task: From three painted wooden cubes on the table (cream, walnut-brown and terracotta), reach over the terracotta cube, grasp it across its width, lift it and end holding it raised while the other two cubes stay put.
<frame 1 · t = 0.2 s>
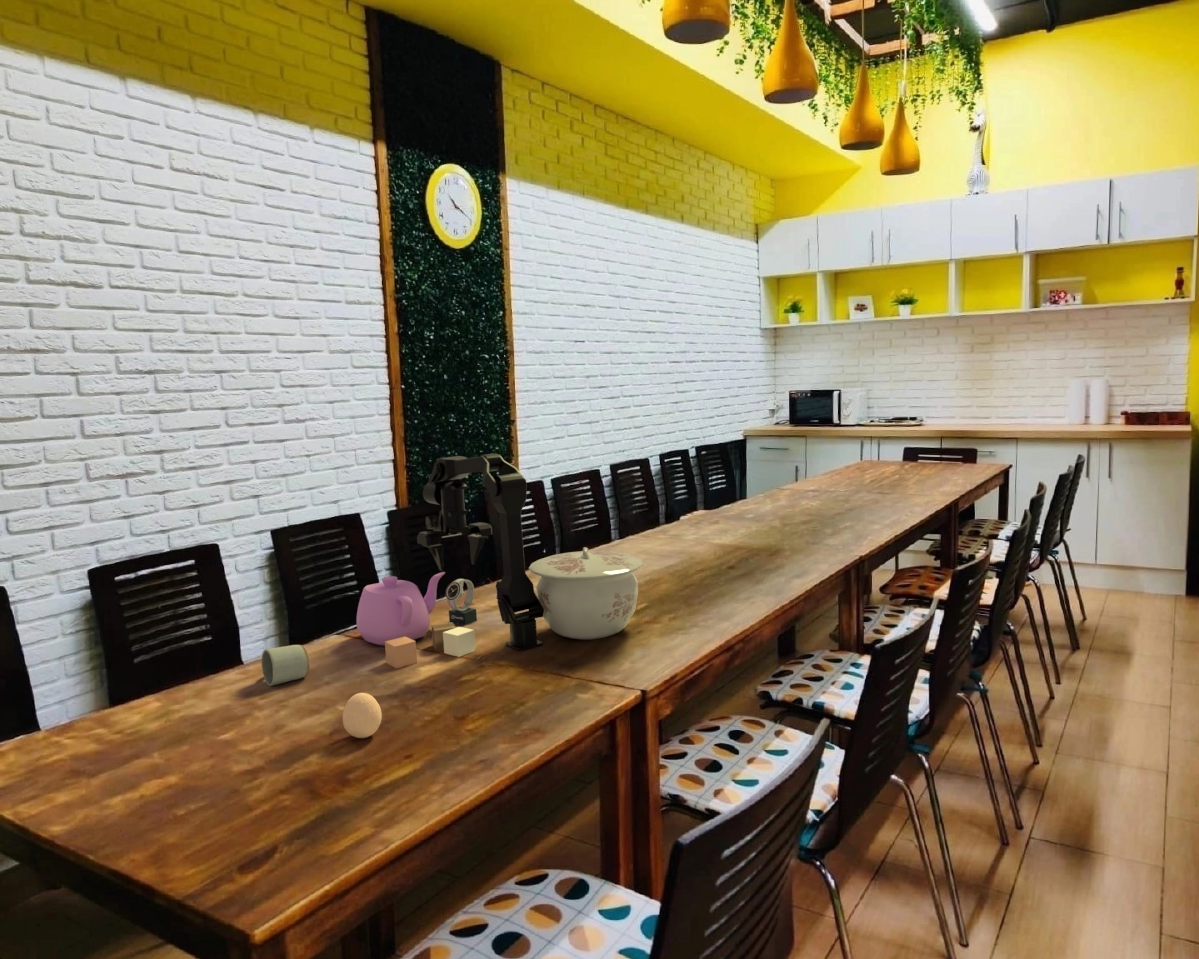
hand: (457, 567, 219), 14 cm above the table, fingers open, 9 cm apart
teapot: (396, 637, 211), on the table
watch: (463, 622, 221), on the table
egg: (364, 737, 152), on the table
terracotta cube: (401, 663, 191), on the table
chamber pot: (589, 632, 208), on the table, touching arm
ceramic mug: (283, 680, 184), on the table
cream cube: (459, 652, 197), on the table
walnut cube: (445, 647, 201), on the table
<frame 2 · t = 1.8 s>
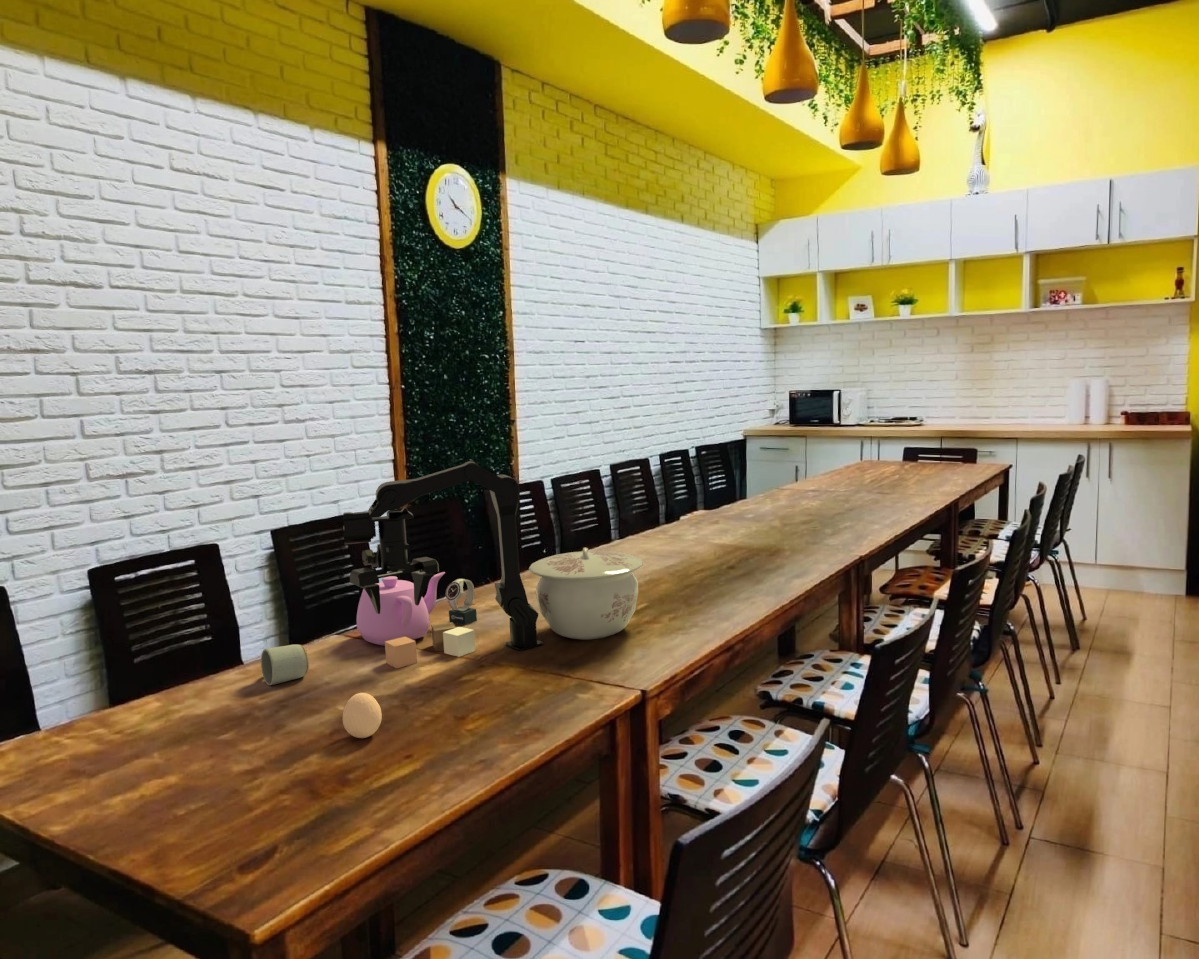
hand: (397, 609, 190), 12 cm above the table, fingers open, 9 cm apart
chamber pot: (590, 632, 208), on the table
everything else where it was.
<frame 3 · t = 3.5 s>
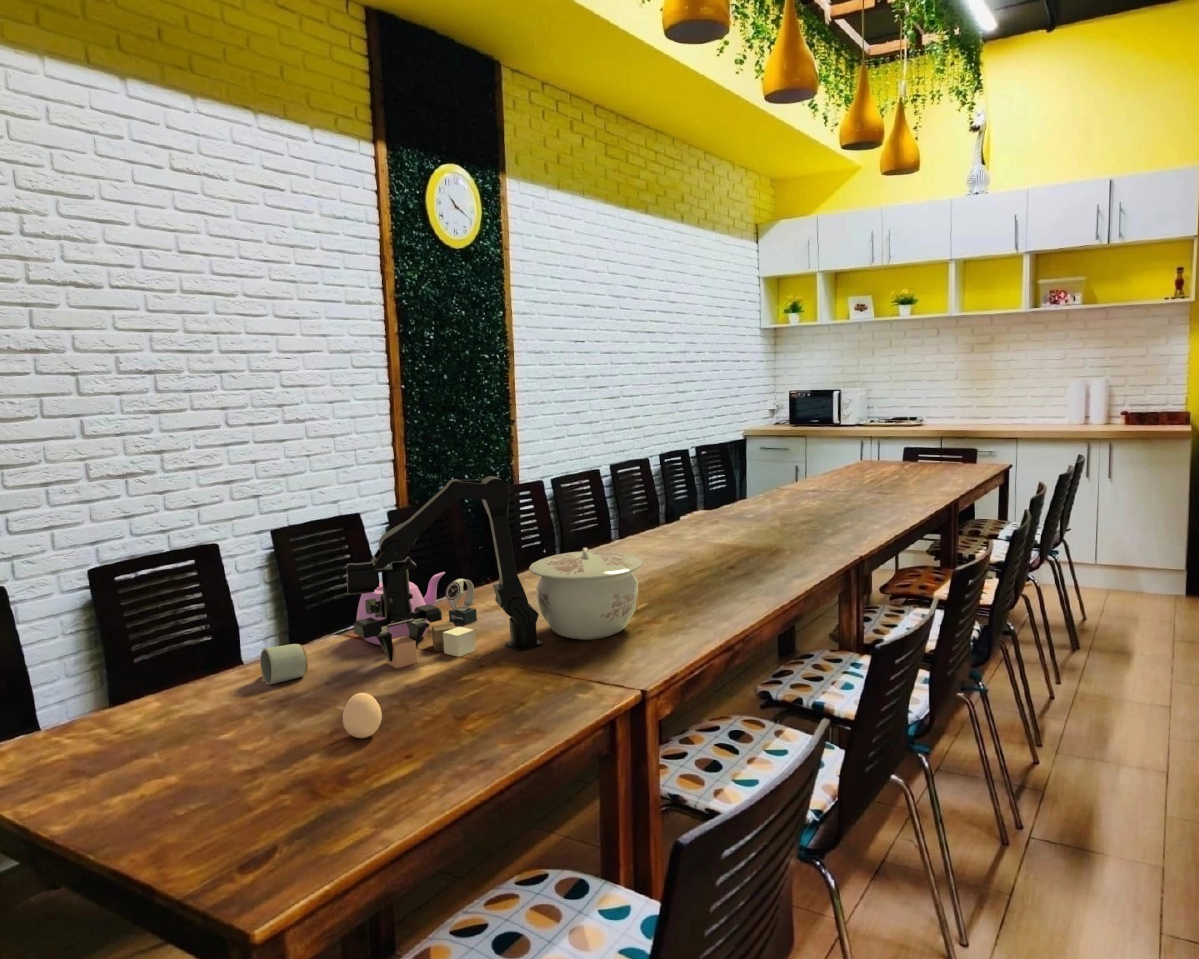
hand: (401, 658, 191), 1 cm above the table, fingers closed on terracotta cube, 5 cm apart
terracotta cube: (401, 662, 191), on the table, touching gripper
cream cube: (459, 652, 197), on the table, touching walnut cube
walnut cube: (445, 647, 201), on the table, touching cream cube
everything else where it was.
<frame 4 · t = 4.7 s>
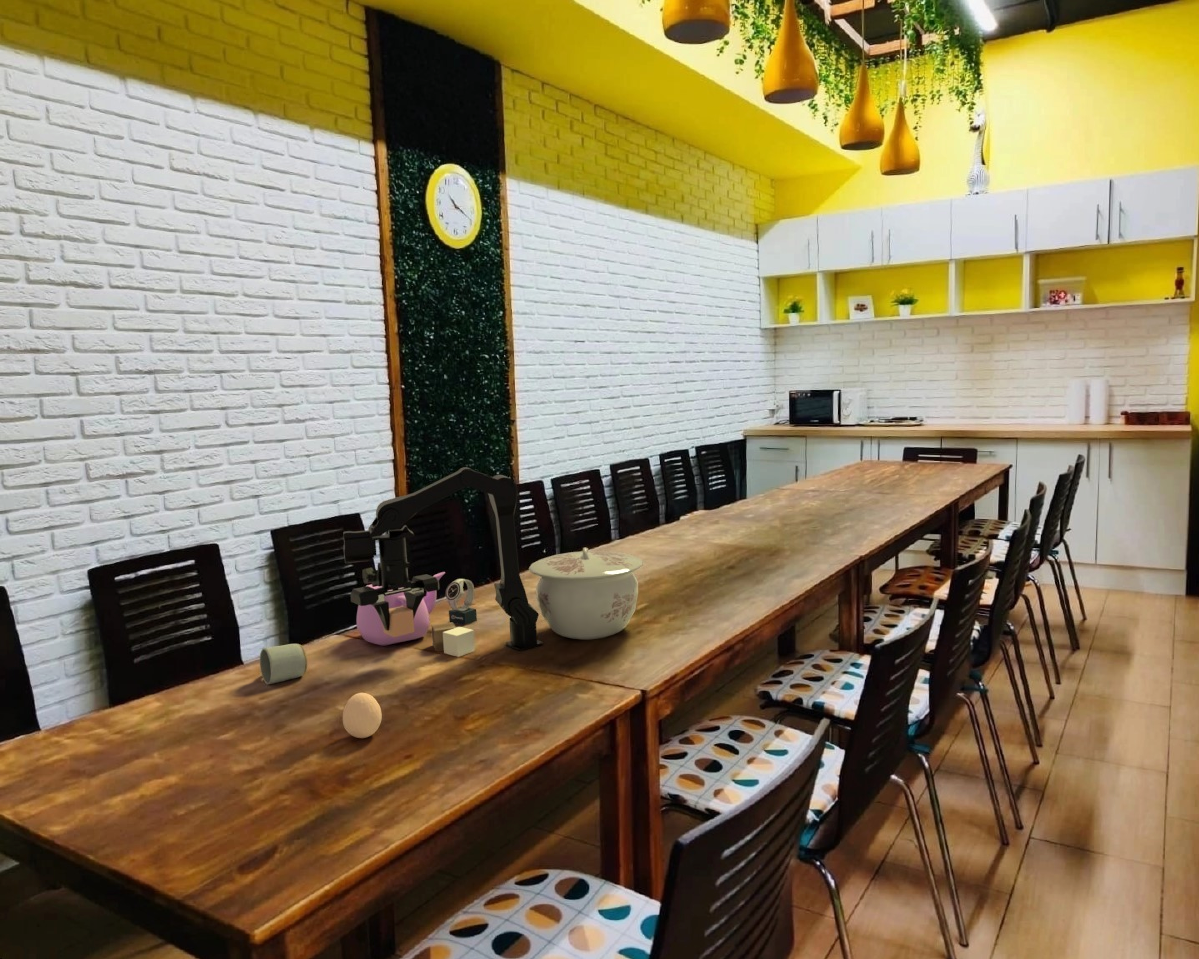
hand: (398, 627, 190), 8 cm above the table, fingers closed on terracotta cube, 5 cm apart
terracotta cube: (398, 632, 190), point 7 cm above the table, touching gripper
cream cube: (459, 652, 197), on the table
walnut cube: (445, 647, 201), on the table
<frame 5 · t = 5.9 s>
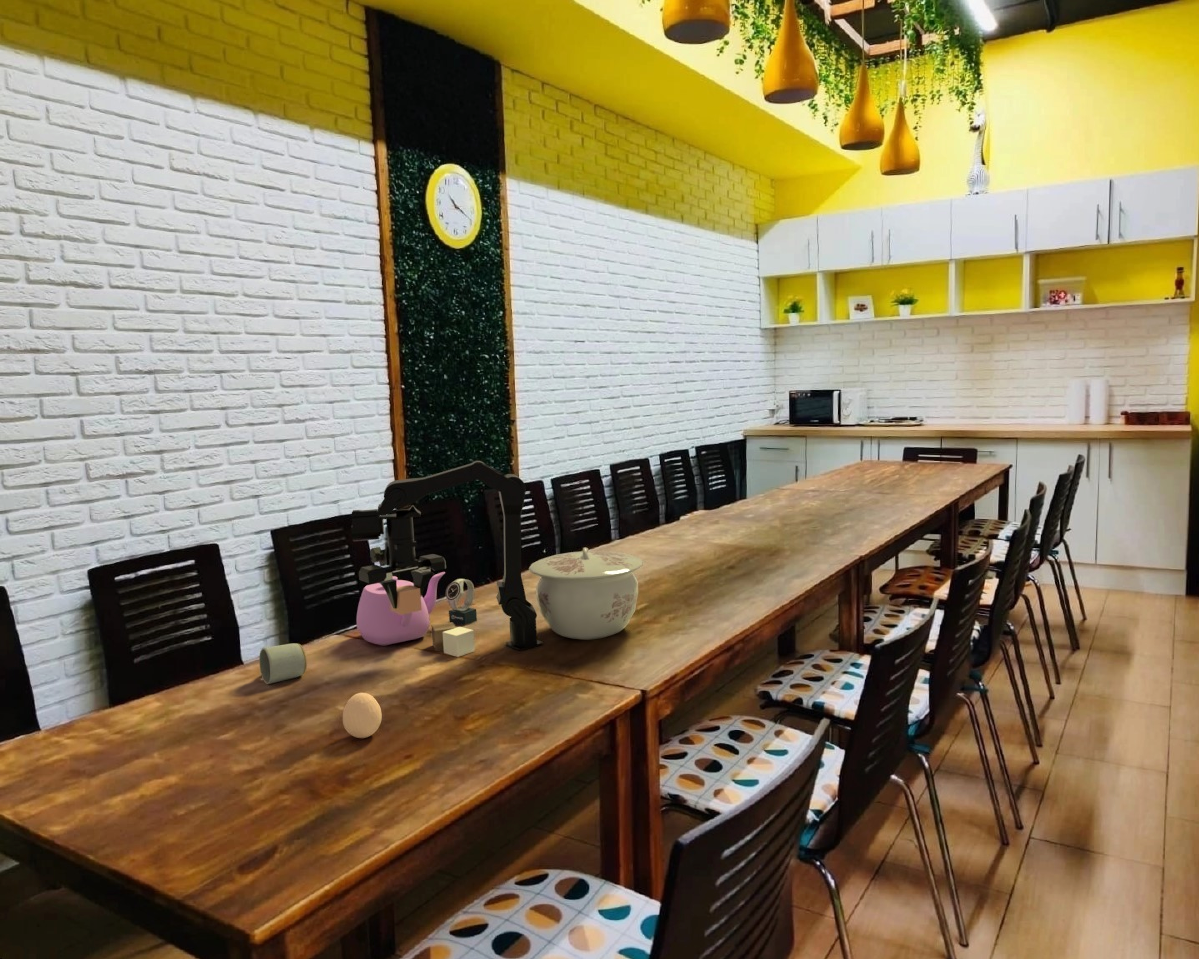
hand: (406, 605, 193), 12 cm above the table, fingers closed on terracotta cube, 5 cm apart
terracotta cube: (406, 610, 193), point 11 cm above the table, touching gripper
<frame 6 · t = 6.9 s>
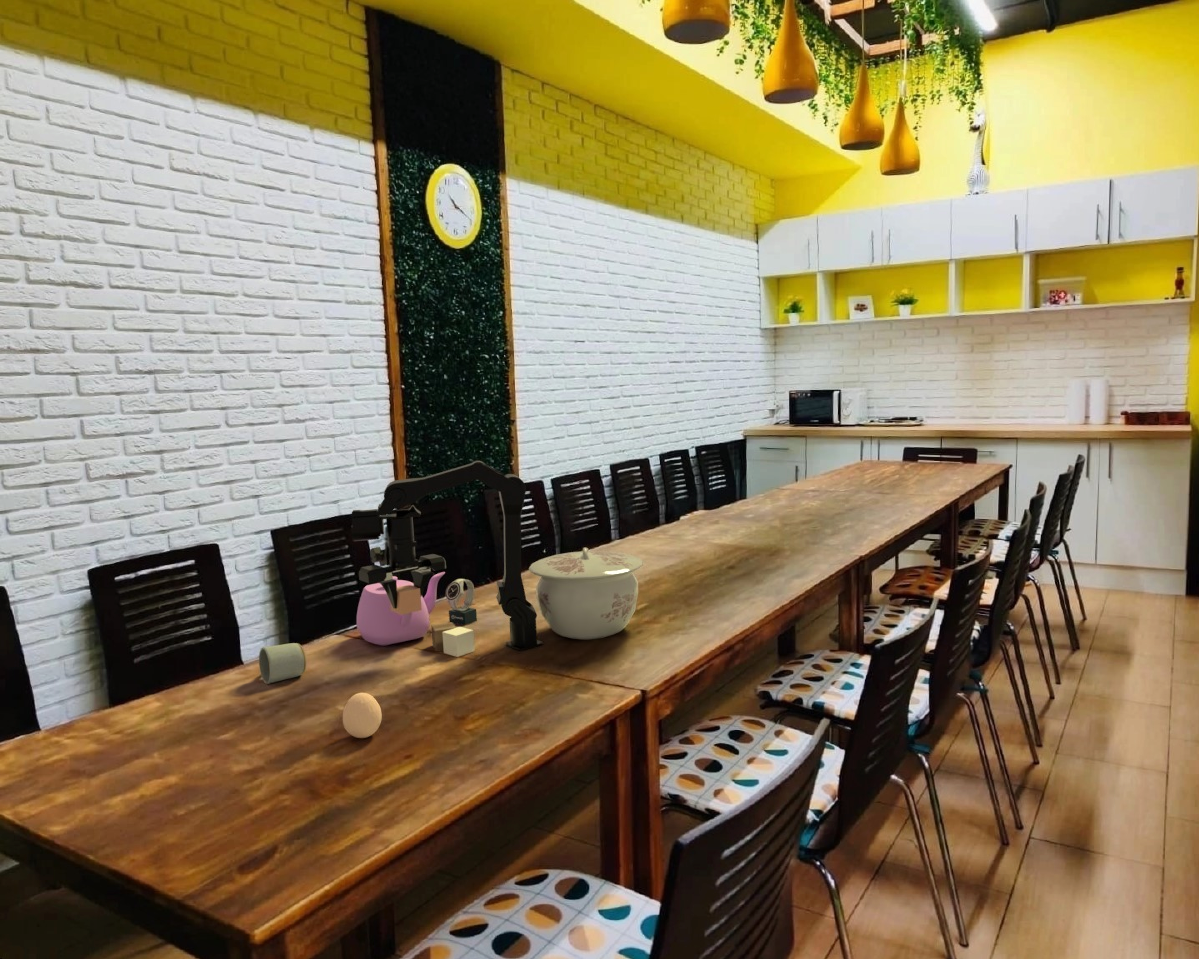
hand: (406, 605, 193), 12 cm above the table, fingers closed on terracotta cube, 5 cm apart
terracotta cube: (406, 610, 193), point 11 cm above the table, touching gripper
cream cube: (459, 652, 197), on the table, touching walnut cube
walnut cube: (445, 647, 201), on the table, touching cream cube
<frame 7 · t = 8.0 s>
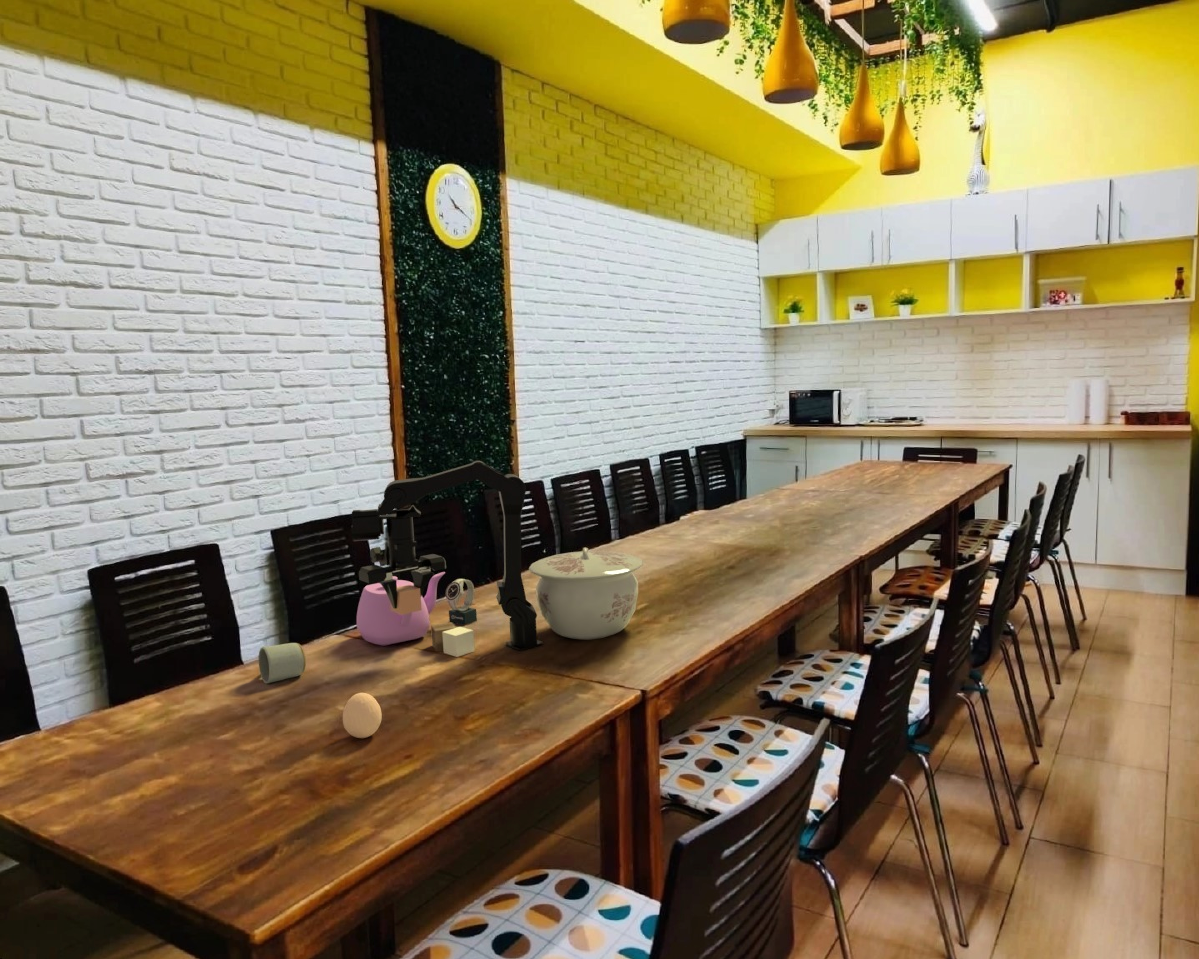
hand: (406, 605, 193), 12 cm above the table, fingers closed on terracotta cube, 5 cm apart
terracotta cube: (406, 610, 193), point 11 cm above the table, touching gripper
cream cube: (459, 652, 197), on the table
walnut cube: (445, 647, 201), on the table
at the end: the gripper is holding terracotta cube; terracotta cube point 10.9 cm above the table; walnut cube moved 0.1 cm from its start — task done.
